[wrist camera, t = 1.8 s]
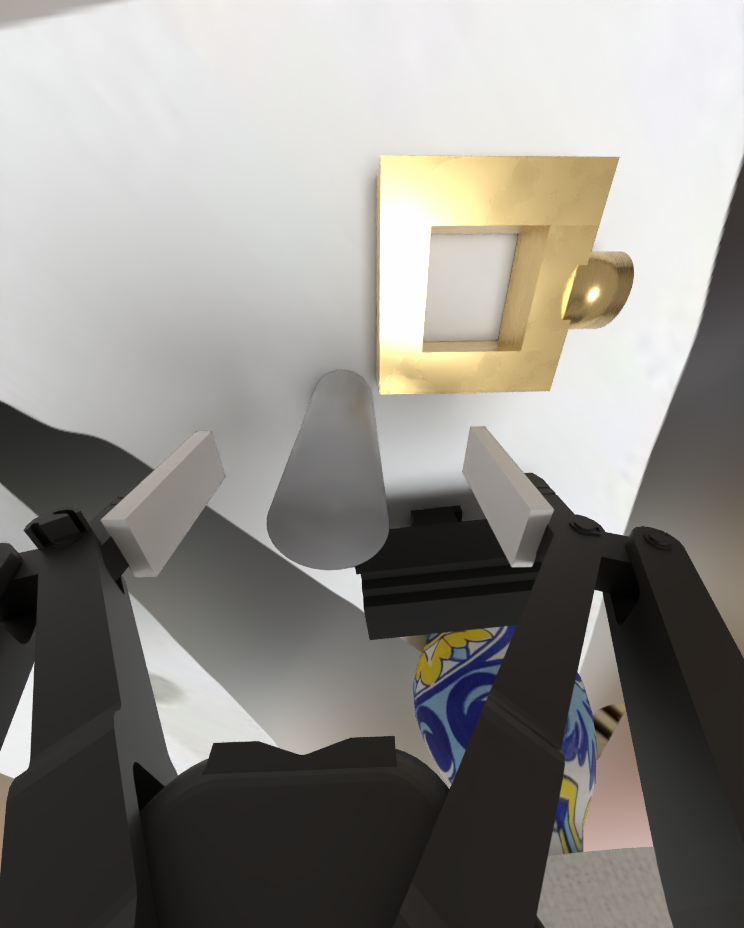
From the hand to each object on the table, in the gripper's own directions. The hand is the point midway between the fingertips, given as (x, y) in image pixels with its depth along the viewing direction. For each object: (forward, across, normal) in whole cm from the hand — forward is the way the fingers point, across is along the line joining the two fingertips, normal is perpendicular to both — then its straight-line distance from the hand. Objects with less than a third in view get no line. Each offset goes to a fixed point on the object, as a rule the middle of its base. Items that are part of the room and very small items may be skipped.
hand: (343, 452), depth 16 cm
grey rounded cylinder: (+8, 0, 0) cm, 8 cm away
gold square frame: (+8, +9, +7) cm, 14 cm away
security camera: (+9, +7, -12) cm, 16 cm away
